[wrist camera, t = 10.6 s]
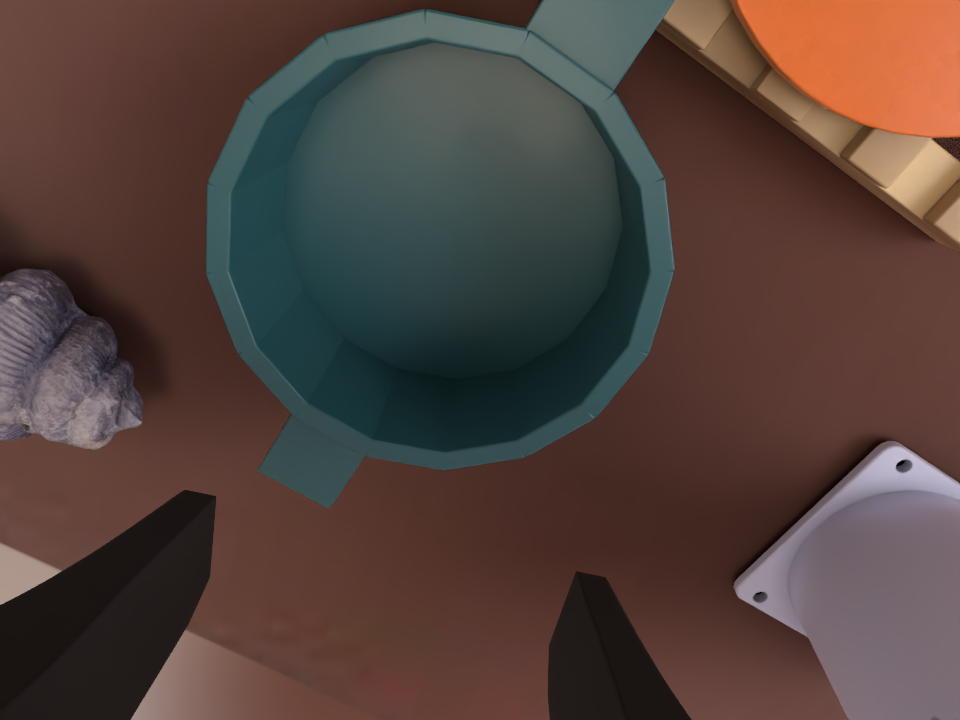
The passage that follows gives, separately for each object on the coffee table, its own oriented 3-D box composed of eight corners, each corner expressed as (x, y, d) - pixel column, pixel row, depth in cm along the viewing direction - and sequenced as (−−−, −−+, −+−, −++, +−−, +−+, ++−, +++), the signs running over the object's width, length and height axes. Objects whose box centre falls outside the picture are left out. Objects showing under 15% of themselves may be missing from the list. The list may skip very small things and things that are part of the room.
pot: (782, 85, 19) (862, 99, 15) (463, 495, 26) (452, 592, 21) (436, -180, 17) (409, -257, 13) (179, 337, 23) (101, 408, 19)
